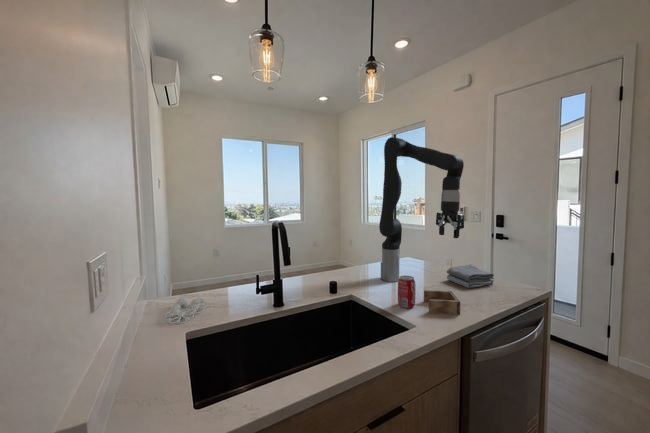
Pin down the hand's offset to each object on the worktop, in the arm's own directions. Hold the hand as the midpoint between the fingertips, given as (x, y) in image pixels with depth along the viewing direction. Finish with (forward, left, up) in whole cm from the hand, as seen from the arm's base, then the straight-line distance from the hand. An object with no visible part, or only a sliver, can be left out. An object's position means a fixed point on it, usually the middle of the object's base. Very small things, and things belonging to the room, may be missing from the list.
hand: (448, 236), depth 124 cm
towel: (+8, +26, -28) cm, 39 cm away
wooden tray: (-1, -16, -27) cm, 32 cm away
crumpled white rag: (-89, -68, -28) cm, 115 cm away
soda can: (-14, -20, -27) cm, 37 cm away
